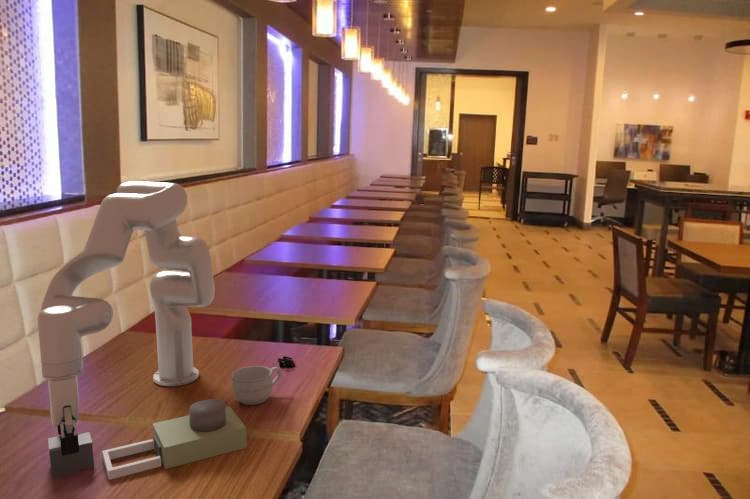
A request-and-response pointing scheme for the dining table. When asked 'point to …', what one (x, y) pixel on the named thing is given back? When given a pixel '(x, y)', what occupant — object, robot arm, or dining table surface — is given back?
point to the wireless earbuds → (286, 362)
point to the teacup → (254, 383)
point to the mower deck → (184, 439)
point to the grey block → (70, 456)
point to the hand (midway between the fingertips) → (68, 442)
